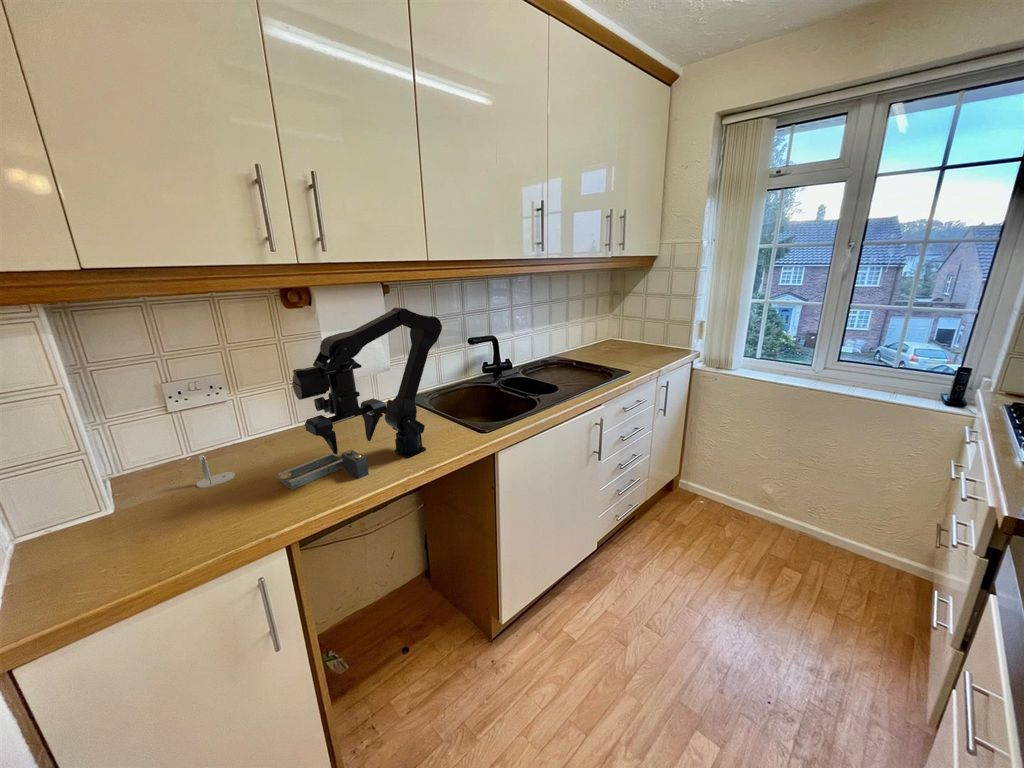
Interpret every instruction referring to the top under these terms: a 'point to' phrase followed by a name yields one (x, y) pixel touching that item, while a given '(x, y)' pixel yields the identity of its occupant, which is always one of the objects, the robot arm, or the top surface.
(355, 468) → the block with brass studs
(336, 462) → the end link
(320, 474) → the end link
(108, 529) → the top surface
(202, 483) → the stand
